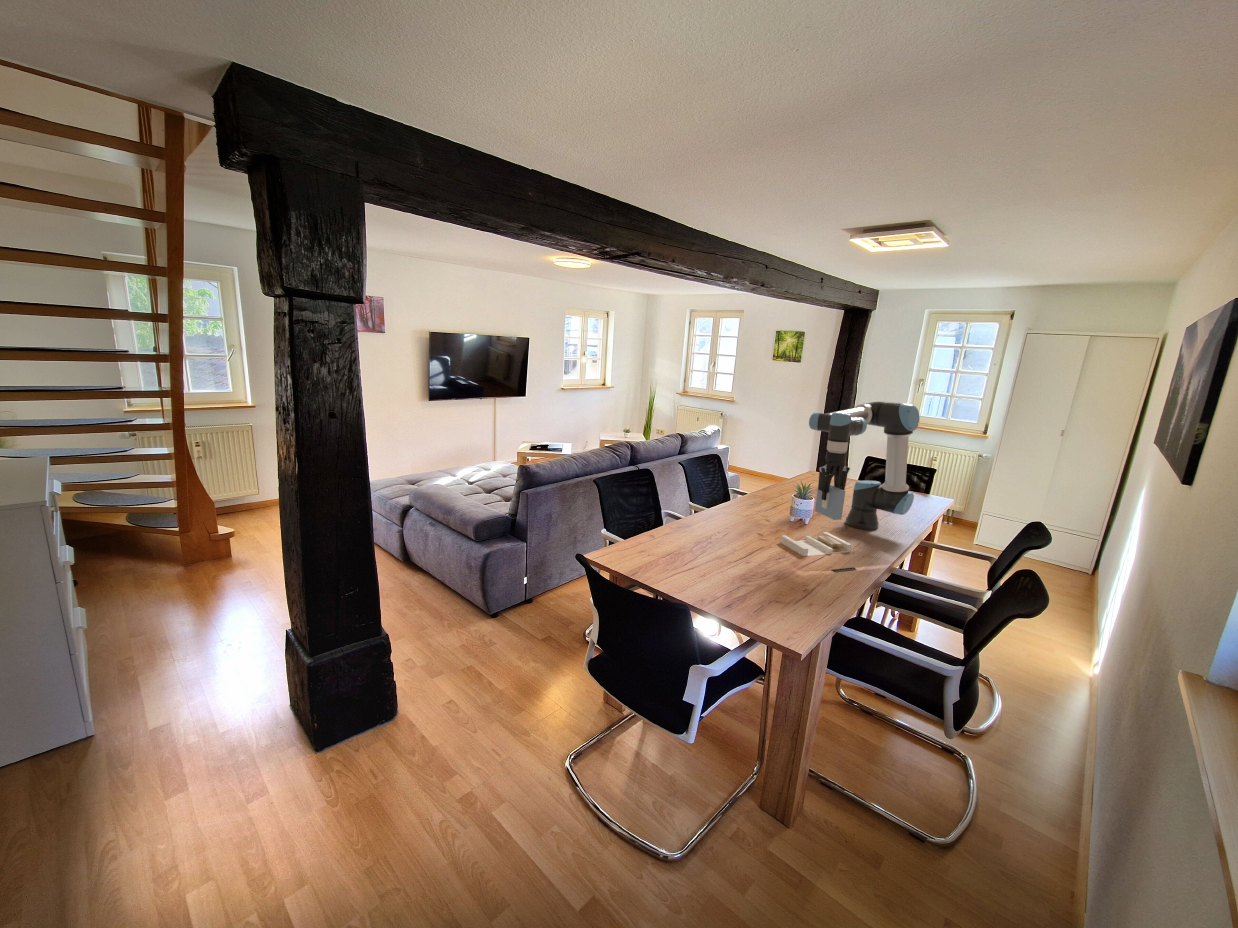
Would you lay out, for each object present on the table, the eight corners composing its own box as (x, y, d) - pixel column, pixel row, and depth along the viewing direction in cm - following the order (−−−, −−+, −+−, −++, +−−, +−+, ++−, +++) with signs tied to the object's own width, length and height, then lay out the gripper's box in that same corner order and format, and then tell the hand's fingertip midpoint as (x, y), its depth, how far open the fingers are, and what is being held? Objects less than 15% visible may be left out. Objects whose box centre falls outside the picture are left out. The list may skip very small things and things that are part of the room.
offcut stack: (822, 539, 223) (823, 533, 223) (844, 551, 210) (845, 544, 210) (810, 540, 222) (811, 534, 221) (832, 552, 209) (833, 545, 208)
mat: (831, 556, 207) (832, 555, 207) (856, 570, 194) (856, 568, 194) (811, 558, 204) (812, 557, 204) (835, 572, 191) (835, 571, 191)
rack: (825, 540, 225) (826, 531, 224) (850, 554, 210) (851, 544, 209) (780, 544, 219) (781, 535, 218) (803, 558, 204) (804, 548, 203)
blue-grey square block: (821, 510, 208) (825, 483, 205) (841, 519, 196) (845, 490, 194) (814, 510, 207) (818, 483, 204) (834, 519, 195) (838, 491, 193)
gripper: (847, 449, 202) (839, 504, 207) (812, 449, 197) (805, 505, 202) (860, 453, 195) (852, 509, 199) (824, 453, 190) (817, 510, 195)
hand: (828, 507), depth 201 cm, fingers closed on blue-grey square block, 3 cm apart
